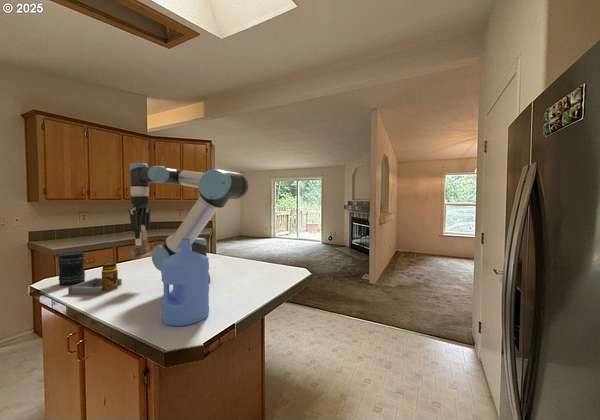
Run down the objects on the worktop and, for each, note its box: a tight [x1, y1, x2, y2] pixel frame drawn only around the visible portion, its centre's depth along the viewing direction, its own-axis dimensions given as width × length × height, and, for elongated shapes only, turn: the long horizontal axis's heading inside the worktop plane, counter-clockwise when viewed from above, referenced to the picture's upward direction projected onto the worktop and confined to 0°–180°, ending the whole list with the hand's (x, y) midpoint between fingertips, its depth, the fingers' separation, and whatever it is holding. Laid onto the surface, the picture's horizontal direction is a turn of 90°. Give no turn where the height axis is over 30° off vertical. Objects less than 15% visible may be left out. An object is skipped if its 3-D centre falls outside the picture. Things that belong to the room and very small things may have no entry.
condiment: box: [100, 262, 122, 293], centre depth 121 cm, size 7×8×12 cm
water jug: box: [160, 239, 210, 327], centre depth 93 cm, size 16×16×28 cm
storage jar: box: [57, 250, 86, 287], centre depth 129 cm, size 10×10×15 cm
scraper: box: [129, 225, 152, 261], centre depth 124 cm, size 7×10×15 cm
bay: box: [67, 277, 123, 296], centre depth 120 cm, size 14×14×3 cm
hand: (141, 244), depth 125 cm, fingers closed on scraper, 3 cm apart
